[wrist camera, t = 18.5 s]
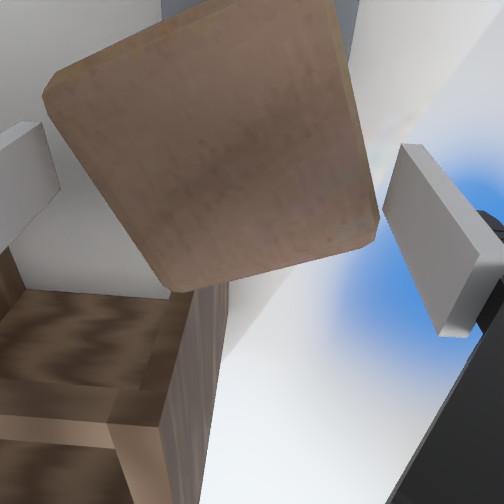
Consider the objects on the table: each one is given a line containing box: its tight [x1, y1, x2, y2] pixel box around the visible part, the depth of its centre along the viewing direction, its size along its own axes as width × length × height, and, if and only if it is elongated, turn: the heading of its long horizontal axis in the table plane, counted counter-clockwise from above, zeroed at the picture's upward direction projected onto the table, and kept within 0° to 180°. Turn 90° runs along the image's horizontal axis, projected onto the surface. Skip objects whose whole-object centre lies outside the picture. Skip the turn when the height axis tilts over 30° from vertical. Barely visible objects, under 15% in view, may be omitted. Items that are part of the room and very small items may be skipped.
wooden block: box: [42, 0, 380, 293], centre depth 22 cm, size 10×10×20 cm
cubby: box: [0, 246, 229, 504], centre depth 31 cm, size 26×20×26 cm
